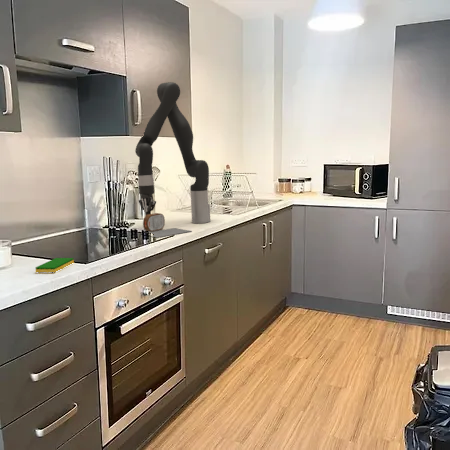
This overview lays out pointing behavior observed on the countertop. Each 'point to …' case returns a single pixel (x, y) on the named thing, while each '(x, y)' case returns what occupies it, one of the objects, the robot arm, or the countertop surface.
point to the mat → (169, 232)
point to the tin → (153, 222)
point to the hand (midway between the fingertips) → (148, 219)
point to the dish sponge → (54, 265)
